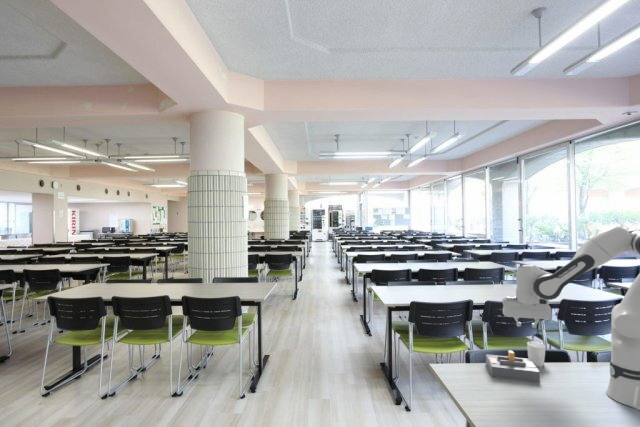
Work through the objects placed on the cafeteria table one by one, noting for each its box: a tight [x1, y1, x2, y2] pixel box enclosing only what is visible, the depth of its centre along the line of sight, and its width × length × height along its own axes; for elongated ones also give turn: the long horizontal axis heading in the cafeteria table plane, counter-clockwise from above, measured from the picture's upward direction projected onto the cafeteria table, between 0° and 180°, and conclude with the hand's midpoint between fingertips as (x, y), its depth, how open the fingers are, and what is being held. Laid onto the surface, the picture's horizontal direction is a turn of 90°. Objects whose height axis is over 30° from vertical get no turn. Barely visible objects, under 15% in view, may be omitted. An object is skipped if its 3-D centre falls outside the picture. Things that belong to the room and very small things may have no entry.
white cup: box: [526, 341, 546, 367], centre depth 172 cm, size 8×8×10 cm
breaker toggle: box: [507, 349, 516, 361], centre depth 162 cm, size 2×3×5 cm, turn 164°
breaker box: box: [485, 353, 541, 384], centre depth 162 cm, size 20×14×7 cm
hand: (526, 326), depth 160 cm, fingers open, 5 cm apart
